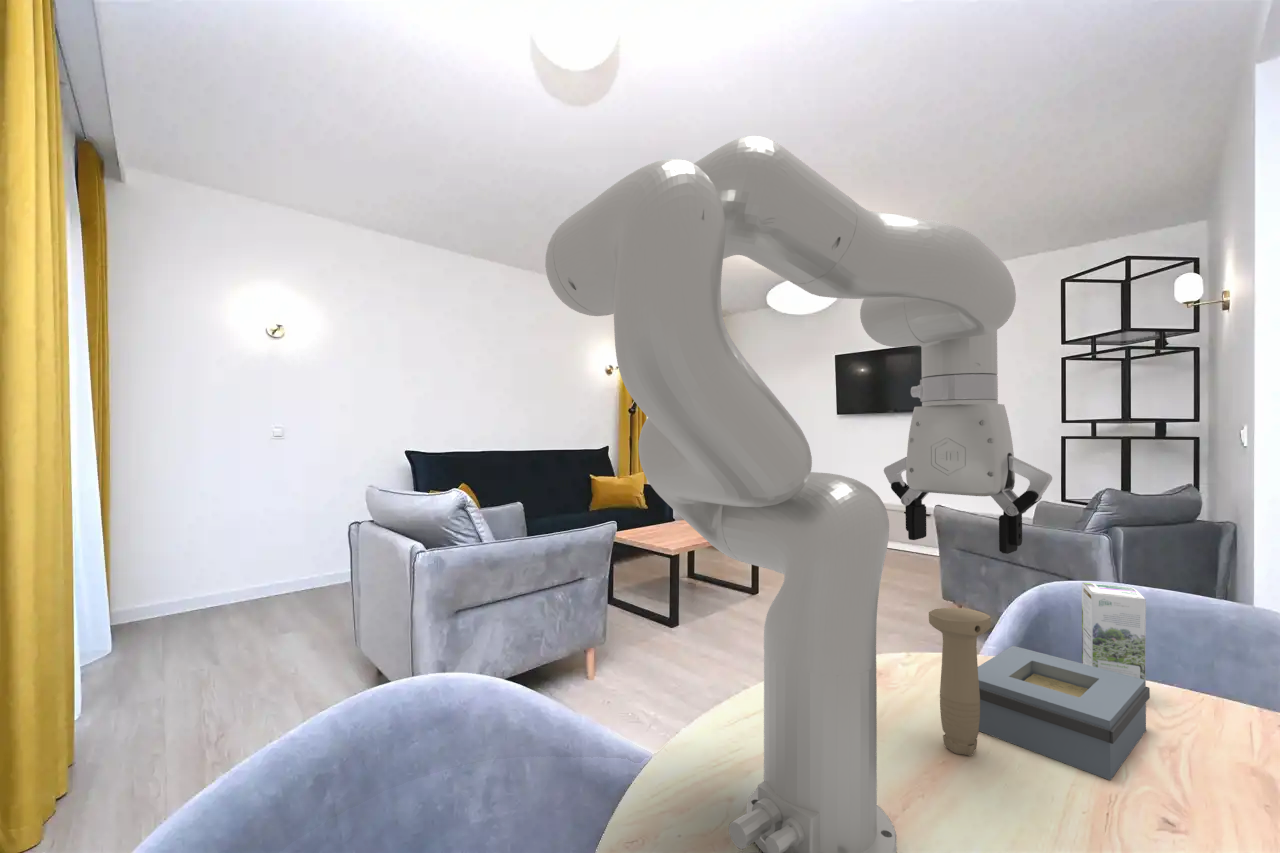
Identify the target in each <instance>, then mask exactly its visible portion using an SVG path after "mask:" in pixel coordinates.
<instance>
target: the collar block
mask: <svg viewBox="0 0 1280 853" xmlns="http://www.w3.org/2000/svg"><path fill="white" fill-rule="evenodd" d="M1032 674H1037V675H1041V676H1044V677H1048V678H1051V679H1055V680H1059V681H1062V682H1066V683H1069V684H1073V685H1076V686H1080V687H1083V688H1087V689H1088V690H1087V691H1086V692H1085V693H1084V694H1083V695H1082V696H1081V697H1080V698H1079V697H1076V696H1073V695H1069V694H1066V693H1063V692H1059V691H1056V690H1052V689H1049V688H1046V687H1042V686H1039V685H1036V684H1032V683H1029V682H1025V681H1024V680H1026V679H1027V678H1028V677H1030V676H1031V675H1032ZM978 679H979V692H980V722H979V731H978V732H981V733H984V734H986V735H988V736H992V737H994V738H996V739H1000V740H1001V741H1005V742H1007V743H1010V744H1012V745H1013V744H1014V745H1016V746H1018V747H1020V748H1024V749H1026V750H1029V751H1031V752H1034V753H1037V754H1038V755H1039V754H1040V755H1042V756H1044V757H1048V758H1050V759H1052V760H1055V761H1058V762H1061V763H1063V764H1066V765H1068V766H1072V767H1074V768H1077V769H1079V770H1082V771H1085V772H1086V773H1090V774H1092V775H1094V776H1098V777H1100V778H1103V779H1106V780H1109V781H1111V780H1112V779H1113V777H1115V775H1116V773H1117V772H1118V771H1119V769H1120V767H1121V766H1122V765H1123V763H1124V762H1125V761H1126V759H1127V758H1128V756H1129V755H1130V754H1131V752H1132V750H1134V748H1135V747H1136V745H1137V744H1138V743H1139V741H1140V740H1141V738H1142V737H1143V735H1144V734H1145V733H1146V731H1147V702H1148V700H1150V697H1151V696H1150V691H1151V690H1150V689H1151V688H1150V687H1149V686H1146V684H1147V683H1146V682H1147V681H1146V680H1147V679H1146V680H1144V679H1140V678H1136V677H1133V676H1129V675H1125V674H1121V673H1117V672H1113V671H1109V670H1105V669H1102V668H1098V667H1094V666H1090V665H1086V664H1082V662H1078V661H1075V660H1070V659H1066V658H1062V657H1057V656H1054V655H1051V654H1047V653H1042V652H1038V651H1034V650H1031V649H1027V648H1023V647H1018V646H1015V645H1011V646H1010V647H1008V648H1006V649H1004V650H1003V651H1001V652H1000V653H998V654H996V655H995V656H993V657H991V658H990V659H989V660H987V661H985V662H983V663H981V664H980V665H978Z"/></svg>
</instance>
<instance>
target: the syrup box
mask: <svg viewBox="0 0 1280 853" xmlns="http://www.w3.org/2000/svg"><path fill="white" fill-rule="evenodd" d="M1146 600H1147V599H1146V598H1145V597H1144V596H1143V595H1142V594H1141V593H1140V592H1139V591H1138V590H1137V589H1136V588H1134V587H1131V586H1124V585H1111V584H1104V583H1103V584H1101V583H1094V582H1082V583H1081V663H1082V664H1086V665H1090V666H1094V667H1098V668H1102V669H1105V670H1109V671H1113V672H1117V673H1121V674H1125V675H1129V676H1133V677H1136V678H1140V679H1144V680H1147V679H1146V663H1147V662H1146V661H1147V660H1146V646H1147V645H1146V644H1147V643H1146V639H1147V638H1146V636H1147V635H1146V632H1147V631H1146V629H1147V628H1146V626H1147V625H1146V624H1147V623H1146V622H1147V619H1146V618H1147V614H1146V613H1147V601H1146Z"/></svg>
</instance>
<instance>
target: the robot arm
mask: <svg viewBox="0 0 1280 853" xmlns="http://www.w3.org/2000/svg"><path fill="white" fill-rule="evenodd" d="M733 256H743V257H746V258H747V259H750V260H751V261H753V262H755V263H757V264H758V265H761V266H762V267H763V268H766V269H767V270H768V271H771V272H773V273H774V274H776V275H778V276H780V277H781V278H783V279H785V280H787V281H788V282H790V283H792V284H793V285H795V286H796V287H798V288H800V289H802V290H804V291H805V292H807V293H808V294H811V295H814V296H817V297H823V298H833V299H847V300H848V299H849V300H862V302H861V306H860V309H859V316H860V317H859V318H860V322H861V324H862V328H863V330H864V331H865V333H866V334H867V335H868V337H870V338H871V339H872V340H873V341H874V342H876V343H878V344H880V345H883V346H885V347H892V348H902V347H912V346H920V348H921V379H920V380H919V384H918V385H917V386H916V385H915V386H911V388H910V395H911V397H912V398H918V399H920V400H919V401H920V402H921V406H914V408H913V412H912V416H911V421H910V424H909V425H910V426H909V432H908V437H907V438H908V439H907V449H906V450H907V451H906V456H905V457H903V458H901V459H899V460H897V461H895V462H893V463H891V464H889V465H887V466H885V467H884V468H883V473H884V475H885V476H886V479H887V481H888V483H889V484H890V488H891V490H892V492H893V493H895V494H894V495H896V496H897V497H898V499H900V503H901V505H903V506H904V507H905V530H906V532H907V536H908V540H911V541H917V540H920V539H924V538H926V537H927V506H926V504H925V503H923V500H924V499H925V498H926V497H927V496H928V495H929V493H930V494H942V495H956V496H970V497H971V496H972V497H991V498H992V500H994V502H995V503H996V504H997V505H998V506H999V507H1000V508H1001V510H1002V511H1003V513H1002V514H1001V515H999V516H998V541H999V542H998V544H999V545H998V546H999V547H998V548H999V552H1001V553H1002V554H1006V555H1008V554H1011V553H1015V552H1017V551H1018V547H1020V546H1021V545H1022V544H1023V514H1025V513H1026V512H1027V511H1028V510H1029V509H1031V508H1032V507H1034V505H1035V504H1037V503H1038V502H1039V501H1040V500H1041V499H1042V496H1043V495H1044V493H1045V492H1046V490H1047V489H1048V487H1049V486H1050V484H1051V483H1052V481H1053V475H1051V474H1050V473H1048V472H1046V471H1044V470H1042V469H1041V468H1037V467H1036V466H1034V465H1032V464H1030V463H1028V462H1025V461H1023V460H1021V459H1019V458H1017V457H1016V456H1015V455H1014V444H1013V436H1012V431H1011V427H1010V423H1009V417H1008V413H1007V409H1006V406H1005V404H1002V403H999V401H998V400H999V399H998V398H999V391H998V390H999V388H998V387H999V386H998V385H999V383H998V382H999V381H998V380H999V377H998V371H999V370H998V330H999V329H1001V328H1003V326H1004V325H1005V324H1006V323H1007V322H1008V321H1009V319H1010V318H1011V317H1012V315H1013V312H1014V310H1015V306H1016V300H1017V299H1016V298H1017V293H1016V286H1015V282H1014V279H1013V277H1012V275H1011V273H1010V270H1009V269H1008V267H1007V266H1006V265H1005V263H1004V262H1003V261H1002V259H1001V258H1000V257H999V256H998V255H997V254H996V253H995V252H994V251H993V250H992V249H991V248H990V247H989V246H987V245H986V243H984V242H983V241H982V240H981V239H979V238H978V237H977V236H976V235H975V234H973V233H971V232H969V231H968V230H966V229H963V228H962V227H959V226H956V225H953V224H949V223H946V222H941V221H938V220H937V221H936V220H932V219H925V218H919V217H914V216H908V215H903V214H898V213H889V212H883V211H881V212H880V211H873V210H868V209H866V208H864V207H863V206H861V204H859V203H858V202H856V201H855V200H854V199H853V198H851V197H850V196H849V195H847V194H846V193H844V192H843V191H842V190H841V189H839V188H838V187H837V186H835V185H834V184H833V183H831V181H828V180H827V178H824V177H823V176H822V175H821V174H819V173H818V172H817V171H816V170H814V169H813V168H812V167H811V166H809V165H808V164H806V163H805V162H804V161H802V159H800V158H798V157H797V156H796V155H794V154H793V153H792V152H791V151H789V150H788V149H787V148H785V147H784V146H783V145H781V143H780V144H779V143H778V142H776V141H775V140H772V139H771V138H768V137H766V136H765V137H764V136H759V135H749V136H747V135H745V136H742V137H739V138H737V139H733V140H731V141H729V142H727V143H725V144H723V145H721V146H720V147H718V148H716V149H714V150H713V151H711V152H710V153H709V154H707V155H705V156H703V157H702V158H701V159H699V160H698V161H695V162H694V163H693V162H691V161H688V160H684V159H679V158H669V159H668V158H667V159H663V160H662V159H661V160H658V161H654V162H652V163H650V164H646V165H644V166H642V167H640V168H638V169H636V170H634V171H633V172H631V173H629V174H628V175H626V176H624V177H623V178H622V179H620V180H619V181H617V182H616V183H614V184H612V185H611V186H610V187H608V188H606V190H604V191H603V192H602V193H601V194H599V195H597V197H596V198H594V199H593V200H592V201H590V202H589V203H587V204H586V205H585V206H583V207H582V208H580V209H579V210H578V211H576V212H575V213H574V214H572V215H569V217H568V218H566V219H565V220H564V221H563V222H562V223H561V224H560V225H559V226H558V227H557V228H556V229H555V231H554V232H553V233H552V235H551V238H550V240H549V241H548V244H547V248H546V252H545V266H544V267H545V271H546V277H547V280H548V283H549V285H550V287H551V289H552V290H553V292H554V294H555V295H556V297H558V299H560V301H561V302H562V304H564V305H565V306H567V307H568V308H569V309H571V310H573V311H575V312H577V313H579V314H583V315H585V316H589V317H591V316H594V317H603V316H604V317H606V316H609V315H613V329H614V347H615V356H616V363H617V367H618V370H619V371H618V372H619V374H620V378H621V380H622V382H623V383H622V384H623V385H624V386H625V389H626V391H627V392H628V394H629V395H630V397H631V398H632V400H633V401H634V402H635V404H636V405H637V407H638V408H639V409H640V410H641V412H643V414H644V415H645V416H646V417H647V418H646V420H645V421H644V423H643V424H642V427H641V429H640V434H639V438H638V458H639V462H640V465H641V466H640V467H641V468H642V471H643V474H644V476H645V478H646V480H647V481H648V483H649V485H650V487H651V488H652V489H653V490H654V491H655V493H656V494H657V495H658V496H659V497H660V498H661V499H662V500H663V501H664V502H665V503H666V504H667V505H668V506H669V507H670V508H671V509H672V510H673V511H674V512H675V513H677V514H678V515H679V516H680V518H682V519H683V520H684V521H685V522H686V523H687V524H688V525H689V526H690V527H691V528H693V529H694V530H695V531H696V532H697V533H698V534H699V535H700V536H701V537H702V538H703V539H704V540H706V541H707V542H708V544H710V545H711V546H712V547H713V548H715V549H716V550H718V552H720V553H722V554H724V555H725V556H726V557H728V558H731V559H733V560H735V561H738V562H741V563H745V564H748V565H752V566H755V567H760V568H764V569H767V570H771V571H774V572H775V573H779V574H783V575H784V578H783V583H782V586H780V589H779V591H778V593H777V594H776V596H775V597H774V599H773V600H772V603H771V604H770V606H769V608H768V610H767V612H766V616H765V621H764V627H763V781H762V782H760V783H758V784H757V788H755V789H754V791H753V792H752V793H751V794H750V796H749V798H748V799H747V803H746V813H744V814H743V815H741V816H739V817H737V818H736V819H735V820H733V821H731V822H730V824H729V826H728V833H729V837H730V840H731V841H732V843H733V845H735V847H737V848H738V849H740V850H744V849H745V848H747V847H748V846H750V845H752V844H753V843H755V844H756V845H757V847H758V848H759V850H760V851H762V852H763V853H897V852H898V851H897V850H898V844H897V833H896V832H897V831H896V830H895V826H894V824H893V822H892V821H891V819H890V817H889V816H888V815H887V814H886V813H885V811H884V810H883V809H882V808H881V807H880V806H879V805H878V802H877V801H878V798H877V796H878V794H877V792H878V790H877V787H878V785H877V782H878V778H877V776H878V775H877V774H878V772H877V770H878V768H877V766H878V764H877V763H878V762H877V760H878V758H877V757H878V756H877V755H878V754H877V747H878V746H877V743H878V742H877V736H878V735H877V732H878V731H877V728H878V727H877V725H878V724H877V723H878V722H877V716H878V715H877V714H878V713H877V708H878V707H877V703H878V702H877V698H878V697H877V694H878V693H877V690H878V689H877V687H878V686H877V682H878V679H877V628H878V627H877V624H878V623H877V621H878V606H879V605H878V603H879V597H880V596H879V595H880V586H881V580H882V577H883V576H882V575H883V570H884V565H885V559H886V556H887V552H888V547H889V539H890V538H889V537H890V519H889V514H888V510H887V508H886V506H885V503H884V502H883V501H882V499H881V497H880V496H879V495H878V494H877V493H876V492H875V491H874V490H873V489H872V488H871V487H870V486H868V485H867V484H865V483H863V482H862V481H859V480H857V479H854V478H853V477H849V476H845V475H841V474H836V473H828V472H817V471H816V472H815V471H812V467H813V462H812V461H813V460H812V459H813V458H812V452H811V448H810V444H809V442H808V440H807V438H806V435H805V434H804V431H803V430H802V429H801V427H800V425H799V424H798V422H797V421H796V420H795V419H794V417H793V416H792V415H791V413H790V412H789V411H788V409H787V408H785V406H784V405H783V404H782V402H781V401H780V400H779V398H778V397H777V396H776V395H775V394H774V393H773V392H772V390H771V389H770V388H769V387H768V386H767V384H766V383H765V381H764V380H763V379H762V378H761V376H759V374H758V373H757V372H756V371H755V369H754V368H753V367H752V366H751V365H750V363H749V362H748V360H746V358H745V357H744V355H743V354H742V352H741V351H740V350H739V348H738V347H737V345H736V344H735V343H734V341H733V339H732V338H731V336H730V334H729V332H728V329H727V326H726V322H725V320H724V314H723V306H722V276H723V275H722V273H723V272H722V271H723V264H724V260H725V259H728V258H730V257H733ZM903 472H905V478H906V482H905V481H904V479H903V477H902V473H903ZM1016 474H1017V475H1019V476H1021V477H1023V478H1025V479H1026V480H1028V481H1029V484H1028V487H1027V489H1026V491H1024V492H1023V493H1022V494H1020V495H1019V496H1018V495H1017V494H1016V492H1014V491H1013V489H1014V487H1015V482H1016Z"/></svg>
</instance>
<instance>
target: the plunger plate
mask: <svg viewBox="0 0 1280 853" xmlns="http://www.w3.org/2000/svg"><path fill="white" fill-rule="evenodd" d="M1024 681H1025V682H1029V683H1032V684H1036V685H1039V686H1042V687H1046V688H1049V689H1052V690H1056V691H1059V692H1063V693H1066V694H1069V695H1073V696H1076V697H1079V698H1080V697H1081V696H1082V695H1083V694H1084V693H1085V692H1086V691H1087V690H1088V689H1087V688H1083V687H1080V686H1076V685H1073V684H1069V683H1066V682H1062V681H1059V680H1055V679H1051V678H1048V677H1044V676H1041V675H1037V674H1032V675H1031V676H1030V677H1028V678H1027V679H1026V680H1024Z"/></svg>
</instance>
